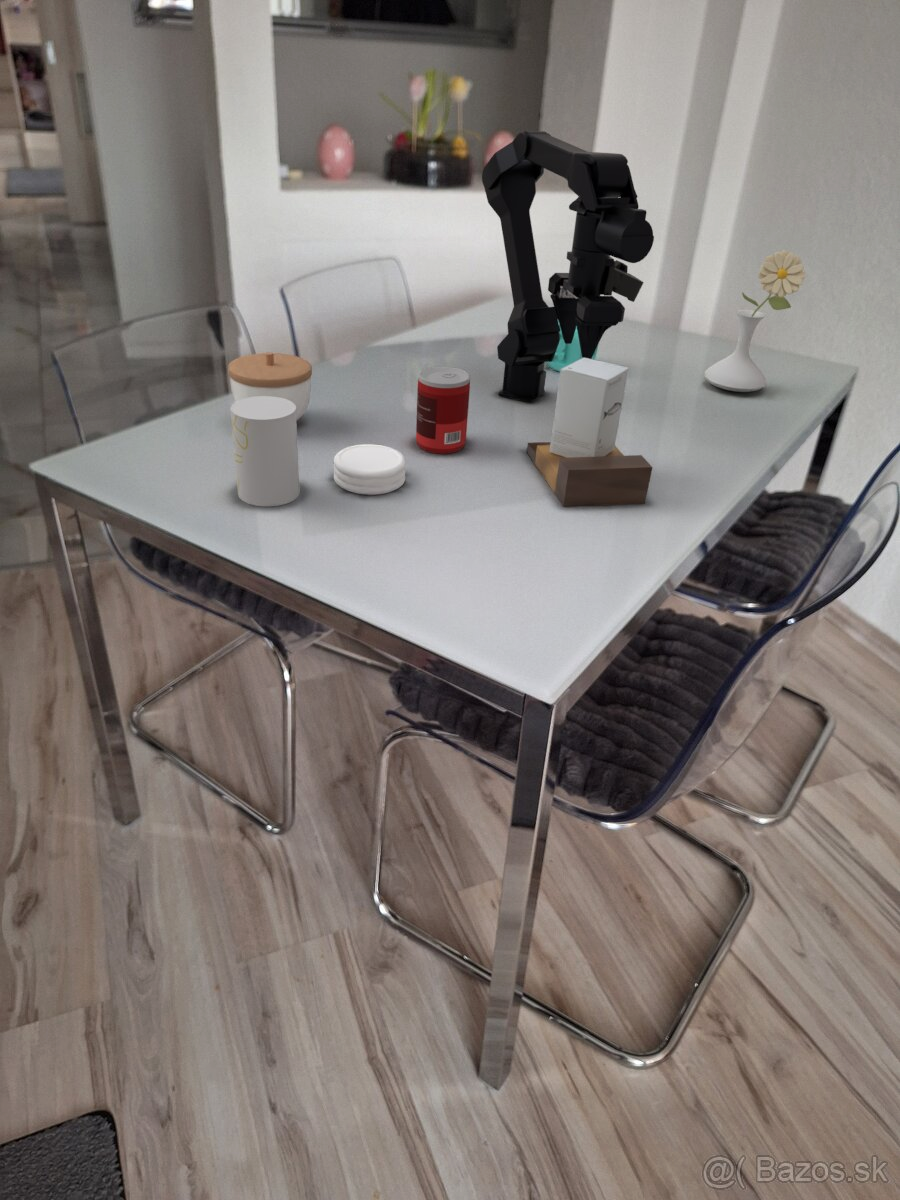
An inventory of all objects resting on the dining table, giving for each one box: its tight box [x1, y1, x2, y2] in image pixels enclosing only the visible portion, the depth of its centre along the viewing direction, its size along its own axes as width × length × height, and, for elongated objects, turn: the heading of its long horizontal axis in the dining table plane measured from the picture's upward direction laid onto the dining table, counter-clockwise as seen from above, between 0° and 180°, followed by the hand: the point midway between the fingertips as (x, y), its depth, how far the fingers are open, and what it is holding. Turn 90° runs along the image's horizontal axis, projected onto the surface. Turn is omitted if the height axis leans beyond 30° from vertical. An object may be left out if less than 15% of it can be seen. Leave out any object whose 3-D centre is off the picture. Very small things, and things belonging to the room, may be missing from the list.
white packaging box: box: [549, 358, 629, 458], centre depth 122 cm, size 7×7×13 cm
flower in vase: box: [704, 249, 806, 393], centre depth 156 cm, size 13×11×25 cm
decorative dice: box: [546, 321, 599, 373], centre depth 165 cm, size 8×8×8 cm
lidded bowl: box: [227, 351, 313, 422], centre depth 133 cm, size 13×13×11 cm
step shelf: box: [526, 441, 653, 508], centre depth 124 cm, size 18×12×6 cm, turn 12°
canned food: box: [415, 366, 471, 455], centre depth 129 cm, size 8×8×11 cm
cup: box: [230, 396, 301, 507], centre depth 112 cm, size 8×8×12 cm
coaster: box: [333, 443, 407, 496], centre depth 119 cm, size 10×10×4 cm
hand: (577, 352), depth 136 cm, fingers open, 9 cm apart
